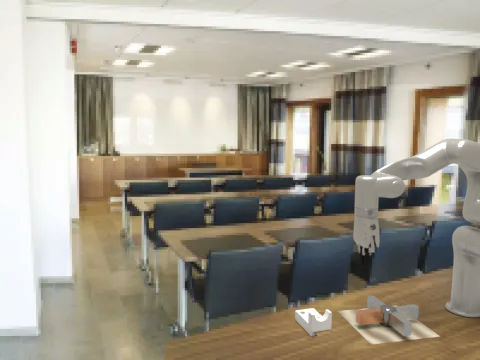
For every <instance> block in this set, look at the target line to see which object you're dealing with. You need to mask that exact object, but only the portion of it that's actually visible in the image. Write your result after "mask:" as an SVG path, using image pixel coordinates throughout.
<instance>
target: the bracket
mask: <svg viewBox="0 0 480 360" xmlns="http://www.w3.org/2000/svg"><path fill="white" fill-rule="evenodd" d="M332 317H333V313H332V311H331V310H329V309H328V308H327V309H325V311H324V313H323V315H322V314H321V313H319V312H318V311H317V310H316V309H315V308H314V307H312V308H311V307H310V308H305V309H297V310H294V321H296V322H297V323H298V325H300V326H301V327H302V328H303V329H304V331H306V333H307V334H308V335H309V336H310V337H317V336H318V334H317V333H316V332H321V331H322V332H323V331H329V330H332V324H333V323H332V322H333V321H332V319H333V318H332Z"/></svg>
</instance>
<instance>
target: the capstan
mask: <svg viewBox="0 0 480 360" xmlns="http://www.w3.org/2000/svg"><path fill="white" fill-rule="evenodd" d="M366 300H367V301H366V308H369V309H365V310H356V322H357V323H358V324H359V325H365V324H374V323H380V324H381V325H383V326H386V327H393V328H394V329H396V330H397V331H398V332H400V333H401V334H402V335H403V336H409V335H411V325H412V323H411V322H409V321H408V319H417V320H418V319H419V312H420V306H418V305H417V304H416V303H413V304H403V305H397V306H396V305H390V304H385V303H384V302H383V301H381V300H380V299H379V298H377V297H376V296H375V295H368V296H367V299H366Z"/></svg>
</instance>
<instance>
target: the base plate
mask: <svg viewBox="0 0 480 360" xmlns="http://www.w3.org/2000/svg"><path fill="white" fill-rule="evenodd" d="M395 306H398V304H397V305H395ZM365 309H369V308H368V307H366V308H365V307H364V308H357V309H356V308H355V309H346V310H345V309H344V310H337V313H338V314H339V315H340V316H341V317H343V318H344V319H345V320H346V321H347V322H348V324H350V325H351V326H352V327H353V328H354V329H355V330H356V332H358V333H359V334H360V335H361V336H362V337H363V338H364V339H365V340H366V341H367V342H368V343H369V344H370V345H377V344H387V343H388V344H389V343H396V342H397V343H398V342H405V341H414V340H421V339H422V340H424V339H432V338H440V337H441V336H440V335H439V334H437V333H436V332H435V331H433V330H432V329H431V328H429V327H428V326H426V325H425V324H424V323H422V322H421V321H419V320H418V318H417V319H408V321H409V322H411V323H412V325H411V335H409V336H403V335H402V334H401V333H400V332H398V331H397V330H396V329H394V328H393V327H386V326H383V325H381V324H380V323H374V324H365V325H359V324H358V323H357V322H356V310H365Z"/></svg>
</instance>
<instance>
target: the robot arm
mask: <svg viewBox="0 0 480 360" xmlns="http://www.w3.org/2000/svg"><path fill="white" fill-rule="evenodd" d="M453 164H454V165H458V167H459V168H460V169H461V171H463V173H464V175H465V177H466V180H467V187H466V192H465V196H464V202H463V205H462V211H461V212H462V217H463V219H464V220H466V221H467V222H469V223H472V224H475V225H478V226H480V142H477V141H473V140H470V139H466V138H465V139H464V138H446V139H442V140H440V141H438V142H437V143H435V144H433V145H431V146H429V147H428V148H426V149H424V150H422V151H421V152H418V153H417V154H415V155H413V156H409V157H407V158H403V159H401V160H398V161H397V160H396V161H395V162H392V163H391V162H390V163H388V164H386V165H384V166H383V167H381V168H379V169H377V170H375V171H374V172H373V173H371V174H366V175H365V174H364V175H358V176H356V178H355V185H354V186H355V188H354V190H355V191H354V221H353V229H352V230H353V233H352V234H353V237H352V238H353V241H354V242H355V244H356V246H357V247H358V248H357V249H358V255H359V256H358V265H359V266H361V267H370V264H371V256H372V253H375V252H376V251H375V250H376V248H379V247H380V242H381V241H380V238H381V237H380V224H379V217H378V216H379V214H378V213H379V198H386V199H387V198H388V199H394V198H395V199H396V198H398V197H401V196H402V195H403V194H404V192H405V189H406V184H405V182H404V181H407V180H408V181H409V180H418V179H419V180H420V179H425V178H429V177H431V176H432V175H434V174H436V173H438V172H439V171H441V170H443V169H444V168H446V167H448V166H450V165H453ZM451 243H452V248H453V249H452V250H453V251H452V252H453V266H452V267H453V268H452V280H451V293H450V300H449V301H446V303H445V308H446V309H447V311H448V312H451V314H455V315H457V316H461V317H466V318H480V228H478V227H475V226H470V225H461V226H458V227H457V228H455V230H454V231H453V233H452V237H451Z"/></svg>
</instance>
